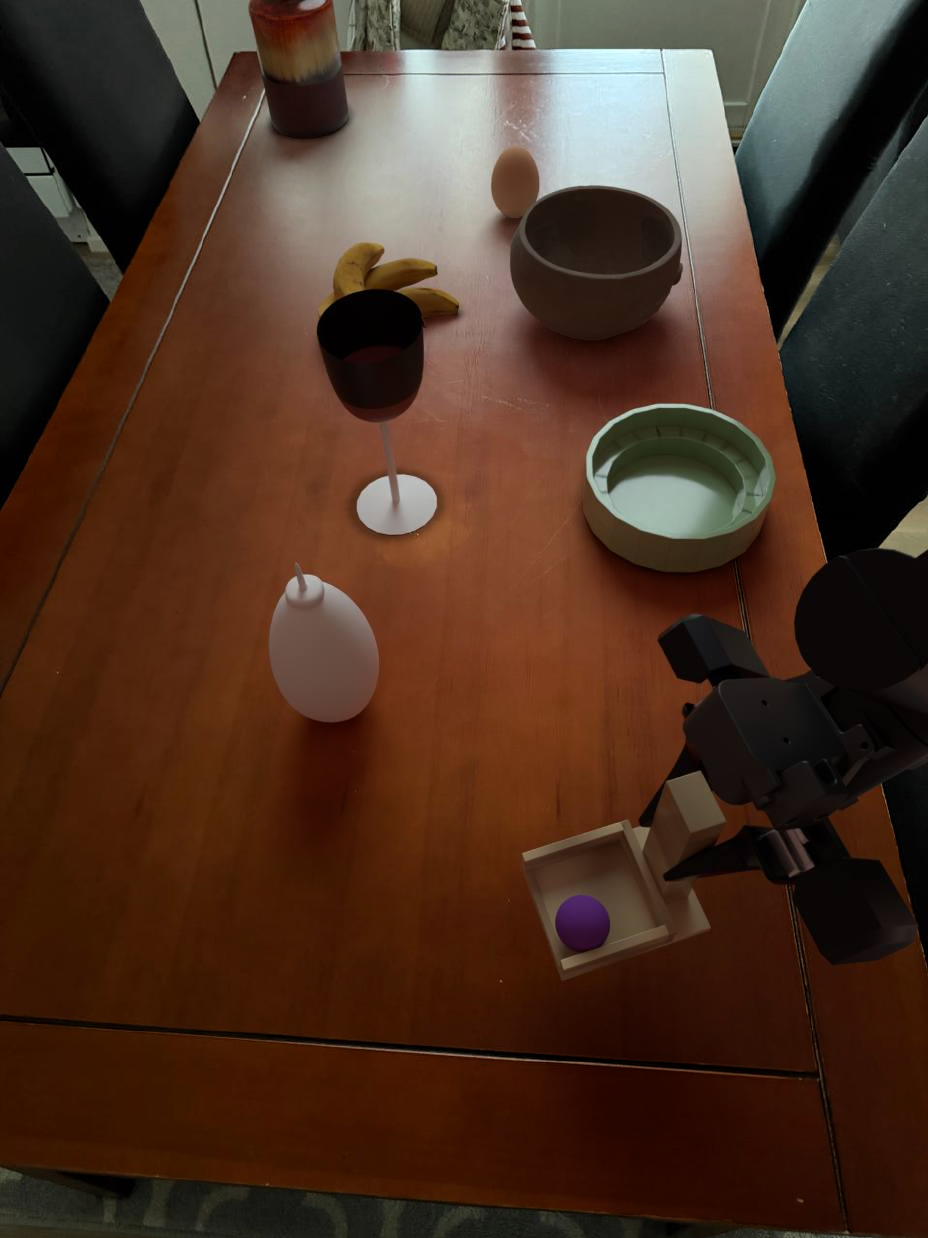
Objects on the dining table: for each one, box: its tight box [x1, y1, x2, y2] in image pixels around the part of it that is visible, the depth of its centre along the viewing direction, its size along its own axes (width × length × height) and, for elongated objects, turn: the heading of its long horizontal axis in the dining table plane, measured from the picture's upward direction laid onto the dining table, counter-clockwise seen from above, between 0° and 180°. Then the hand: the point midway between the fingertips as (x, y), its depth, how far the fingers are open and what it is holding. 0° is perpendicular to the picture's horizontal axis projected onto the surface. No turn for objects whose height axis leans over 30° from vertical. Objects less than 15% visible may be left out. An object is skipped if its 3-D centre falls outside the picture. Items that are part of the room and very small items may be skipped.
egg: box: [490, 145, 541, 219], centre depth 107 cm, size 6×6×8 cm
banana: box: [318, 241, 460, 329], centre depth 97 cm, size 15×19×6 cm
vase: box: [247, 0, 350, 139], centre depth 117 cm, size 11×11×20 cm
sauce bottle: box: [268, 562, 380, 723], centre depth 65 cm, size 8×8×18 cm
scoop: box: [521, 771, 727, 981], centre depth 51 cm, size 10×7×13 cm
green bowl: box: [581, 403, 777, 573], centre depth 81 cm, size 16×16×5 cm
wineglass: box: [316, 289, 438, 536], centre depth 76 cm, size 8×9×20 cm
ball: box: [555, 895, 610, 953], centre depth 53 cm, size 3×3×3 cm
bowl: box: [509, 184, 684, 341], centre depth 95 cm, size 17×18×10 cm
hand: (654, 851), depth 51 cm, fingers closed on scoop, 3 cm apart
